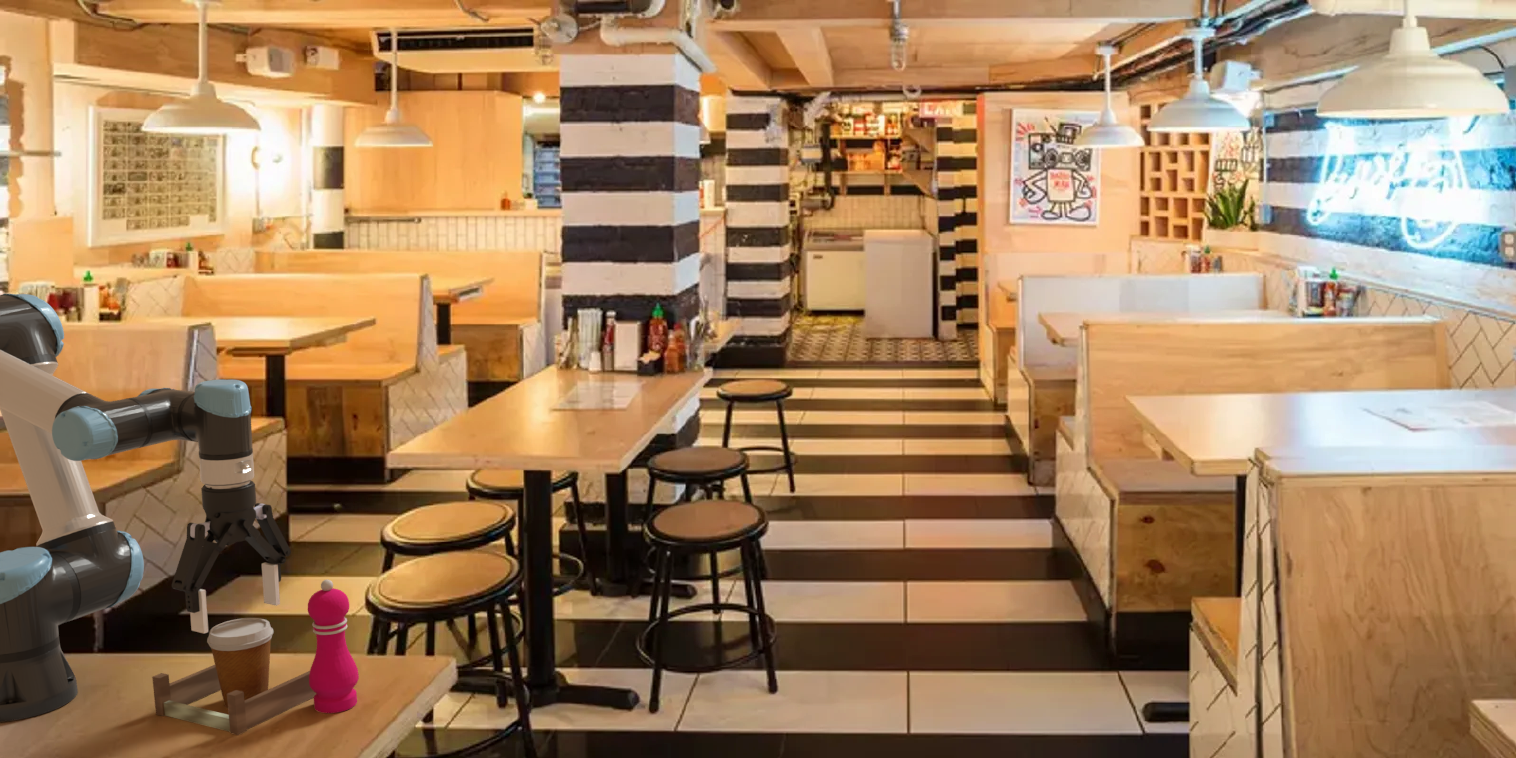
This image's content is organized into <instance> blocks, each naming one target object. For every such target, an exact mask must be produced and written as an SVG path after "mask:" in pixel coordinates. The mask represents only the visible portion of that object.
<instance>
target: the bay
mask: <svg viewBox="0 0 1516 758" xmlns="http://www.w3.org/2000/svg"><path fill="white" fill-rule="evenodd" d="M309 674H310V670H308V671H306V672H304V673H302V674H300V675H298V676H295V677H292V678H291V679H288V680H287V681H284V682H282V683H280V684H277V685H276V686H275V685H274V686H273V687H271V688H268V690H267V691H264V692H262V693H260V694H258V695H256V696H253V697H251V698H249V699H247V700H245V701H244V692H242V691H238V690H235V691H233V692H231V693H228V694H227V701H228V708H227V709H228V714H227V713H223V712H218V711H214V710H211V709H206V708H202V707H199V706H198V707H197V706H194V705H190V704H192V703H195V702H197V701H199V700H201V699H202V698H205V697H208V696H210V695H212V694H215V693H217V692H219V691H221V688H220V683H219V679H218V675H217V671H216V667H215V664H212V665H210V666H209V667H206V668H203V669H201V670H199V671H196V672H194V673H191V674H189V675H186V676H184V677H182V678H179V679H177V680H175V681H172V682H170V675H169V674H168V673H162V672H160V673H158V674H155V675H152V677H151V678H152V688H153V698H154V707H155V710H154V711H155V715H156V716H162V717H164V716H166V717H171V718H174V719H178V720H182V721H187V722H189V723H193V724H197V725H201V726H206V727H210V728H214V729H218V730H222V731H226V732H229V733H230V734H233V735H235V736H239V735H242V734H243V733H245V732H247V730H249V729H252V728H253V727H256V726H258V725H260V724H261V723H263V722H266V721H267V720H269V719H271V718H274V717H276V716H279V715H280V714H283V713H284V712H287V711H288V710H291V709H293V708H295V707H297V706H298V705H300V704H302V703H305V702H307V701H309V700H312V699H314V696H315V695H316V694H317V693H315V692H314V691H313V690H312V689H311V687H310V685H309ZM257 724H258V725H257ZM255 725H256V726H255Z"/></svg>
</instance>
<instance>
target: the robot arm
mask: <svg viewBox="0 0 1516 758" xmlns="http://www.w3.org/2000/svg"><path fill="white" fill-rule="evenodd" d="M62 324H63V323H62V321H61V319H60V317H59V315H58V314H57V312H56V310H54V308H53V307H52V306H51V305H50V304H49V303H48V302H46V301H45V300H44V299H41V298H39V297H38V296H36V295H33V294H29V293H14V294H13V293H2V294H0V413H1V414H0V415H1V416H2V419H3V422H4V426H5V428H6V430H7V433H8V437H9V439H10V442H11V445H12V447H13V450H14V453H15V456H16V459H17V462H18V464H19V468H20V470H21V472H22V476H23V478H24V481H25V485H26V487H27V490H28V493H29V497H30V499H31V502H32V504H33V507H34V510H35V512H36V516H37V518H38V521H39V524H40V526H41V529H42V532H41V534H40V537H39V539H38V541H37V542H36V546H25V547H24V546H23V547H17V548H16V549H14V550H9V549H8V550H4V551H1V552H0V722H1V723H2V722H11V721H16V720H23V719H28V718H32V717H36V716H40V715H43V714H46V713H49V712H52V711H55V710H56V709H59V708H62V707H63V706H65V705H67V704H68V703H70V702H72V701H73V700H74V699H75V698H76V696H77V695H78V683H77V677H76V675H75V674H74V671H73V669H72V668H71V666H70V663H69V661H68V659H67V658H66V656H65V654H64V652H63V651H62V648H61V643H60V636H59V635H60V634H59V626H60V625H62V624H64V623H67V622H70V621H73V620H77V619H79V618H82V617H85V616H87V615H90V614H93V613H95V612H99V611H101V610H105V609H106V610H107V609H109V608H112V607H115V605H117V604H120V603H122V602H124V601H127V600H128V599H130V598H131V597H132V596H133V595H134V594H135V593H136V592H137V591H138V589H139V587H140V584H141V581H142V580H143V577H144V571H145V561H144V555H143V551H142V549H141V546H140V544H139V543H138V541H137V539H135V538H133V537H132V535H131V534H130V533H128V532H126V531H123V530H117V527H116V524H115V521H114V519H113V518H110V517H108V516H105V515H103V514H102V513H101V512H100V510H99V507H98V504H97V502H96V500H95V496H94V493H93V491H92V488H91V484H90V482H89V478H88V476H87V473H86V471H85V468H84V465H83V462H82V461H85V460H86V461H87V460H97V459H102V458H105V457H107V456H111V455H116V454H119V453H124V452H127V451H132V450H135V449H140V448H145V447H149V446H154V445H157V444H161V443H167V442H170V441H186V442H194V443H195V442H196V443H197V445H198V459H199V460H198V461H199V476H200V477H199V480H200V482H201V483H202V484H203V485H202V487H201V488H200V489H201V502H202V503H201V504H202V509H203V511H204V512H205V520H204V522H200V523H197V522H196V523H195V522H189V523H187V526H186V538H185V542H184V546H183V549H182V551H181V554H180V558H179V560H178V564H177V567H176V570H175V573H174V576H173V579H172V583H171V588H172V589H173V590H178V591H181V592H184V594H185V608H186V611H187V613H190V614H189V615H190V626H191V627H190V628H191V631H192V632H197V633H200V634H207V633H209V620H208V610H207V607H208V606H207V591H206V589H203V588H202V587H203V585H204V582H205V580H206V579H207V577H208V576H209V574H210V572H211V569H212V568H213V566H214V564H215V563H216V560H217V558H218V556H219V555H220V553H221V552H222V551H224V550H225V548H226V546H228V547H229V546H231V545H234V544H235V543H236V542H237V543H238V542H243V541H244V542H245V541H246V542H247V543H248V544H249V545H250V546H251V547H252V548H253V549H254V550H255V551H256V552H257V553H258V554H259V555H260V556H261V557H262V558H263V559H264V560H265V561H266V562H262V563H261V575H262V578H261V579H262V590H263V593H262V594H263V595H262V596H263V603H264V604H266V605H271V606H275V607H276V606H280V605H281V599H280V598H281V597H280V583H281V581H282V569H281V565H284V564H285V563H286V562H287V558H286V557H289V556H290V555H291V554H292V551H291V548H290V547H289V545H288V542H287V540H286V539H285V537H284V536H283V534H282V531H281V530H280V528H279V526H278V524H277V522H276V520H275V517H274V515H273V509H272V505H270V504H267V503H266V504H265V503H260V502H257V497H256V496H257V495H256V492H257V491H256V484H255V482H254V481H253V479H254V478H255V464H254V449H253V436H252V435H253V433H252V406H251V400H250V393H249V388H248V387H249V386H248V385H247V384H246V382H244V381H242V380H239V379H232V378H231V379H220V378H219V379H212V380H204V381H200V382H198V383H197V384H196V385H195V387H194V391H191V390H190V391H188V390H181V389H174V388H170V387H162V388H148V389H145V390H143V391H142V392H141V393H139V394H138V395H137V396H134V397H129V398H124V399H123V398H122V399H117V400H112V401H108V400H103V399H102V398H100V397H97V396H95V395H93V394H91V393H89V392H87V391H85V390H83V389H81V388H79V387H77V386H76V385H75V386H74V385H73V384H70V383H69V382H66V381H65V380H63V379H60V378H58V377H56V376H54V373H55V372H56V370H57V368H58V367H59V363H58V360H57V357H58V356H59V355H60V354H61V352H62V351H63V348H64V344H65V343H64V342H63V340H64V339H65V331H64V326H63V325H62ZM255 521H256V522H257V523H258V525H259V527H260V530H261V531H262V532H263V535H264V537H263V536H262V535H261V532H260V530H258V529H257V528H256V527H255V525H254V523H255ZM265 538H266V539H265ZM214 541H215V542H214Z"/></svg>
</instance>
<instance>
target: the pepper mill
mask: <svg viewBox="0 0 1516 758" xmlns="http://www.w3.org/2000/svg"><path fill="white" fill-rule="evenodd" d="M333 587H334V582H333V581H332V580H330V579H324V580H323V581H322V582H321V583H320V588H321V589H320V590H317V591H315V593H313V594H312V595H311V597H310V598H309V599H308V602H307V613H308V615H309V617H310V618H311V619H312V620H313V622H312V625H311V626H312V627H313V628H312V632H313V633H314V634H315V637H316V650H315V651H316V652H315V655H314V658H313V660H312V661H313V662H312V663H311V667H310V670H309V671H310V674H309V685H310V687H311V689H312V690H313V691H314V692H315V693H317V694H316V695H315V696H314V697H313V706H314V709H315V711H317V712H319V713H321V714H337V713H341V712H345V711H348V710H351V709H352V708H354V707H355V706H356V705H357V703H358V695H357V690H356V689H355V688H354V687H355V686H356V685H357V683H358V681H359V680H360V679H359V678H360V676H359V669H358V667H357V664H356V661H355V660H354V658H353V656H352V655H351V652H350V651H349V649H348V645H347V641H346V630H347V628H348V623H347V622H348V618H347V617H346V615H347V614H348V613H349V610H350V601H349V598H348V595H347V594H346V593H345V592H344V591H343V590H340V589H338V588H333ZM353 706H354V707H353Z"/></svg>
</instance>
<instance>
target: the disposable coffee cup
mask: <svg viewBox="0 0 1516 758" xmlns="http://www.w3.org/2000/svg"><path fill="white" fill-rule="evenodd" d="M273 634H274V628H273V627H271V624H270V621H269V620H267V619H266V618H265V619H264V618H261V617H244V618H237V619H236V618H235V619H231V620H227V621H224V622H222V623H219V624H216V625H215V626H213V627H211V629H210V630H209V632H208V637H207V638H206V643H207V644H208V646H209V647H210V649H211V653H212V658H213V661H214V665H215V667H216V671H217V675H218V679H219V683H220V688H221V690H220V692H221V695H222V700H223V706H224V707H226V708H227V709H228V701H227V694H228V693H231V692H233V691H235V690H238V691H242V692H244V701H245V700H247V699H249V698H251V697H253V696H256V695H258V694H260V693H262V692H264V691H267V690H269V682H270V681H269V679H270V661H271V641H272V637H273Z"/></svg>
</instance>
